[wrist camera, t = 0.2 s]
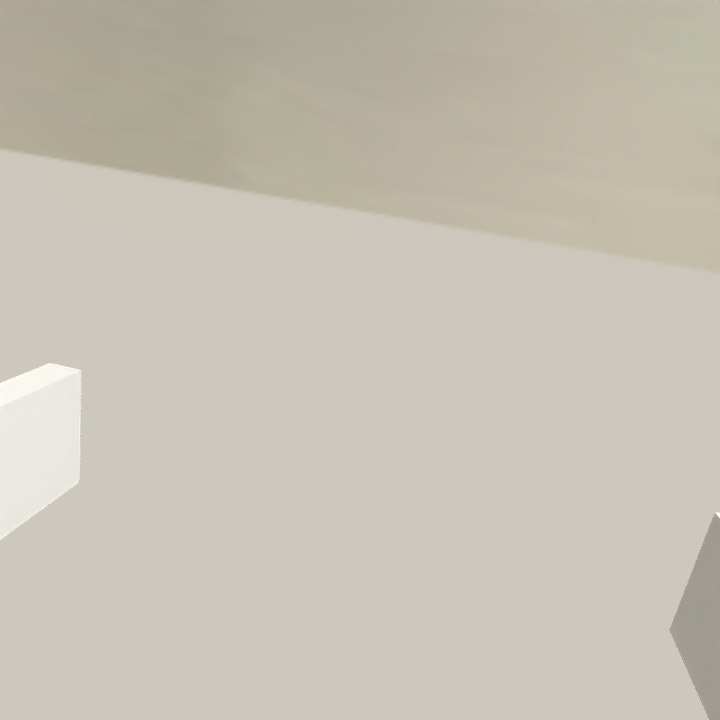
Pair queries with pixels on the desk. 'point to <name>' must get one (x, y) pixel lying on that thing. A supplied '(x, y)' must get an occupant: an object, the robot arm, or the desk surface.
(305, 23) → the desk surface
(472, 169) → the desk surface
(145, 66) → the desk surface
